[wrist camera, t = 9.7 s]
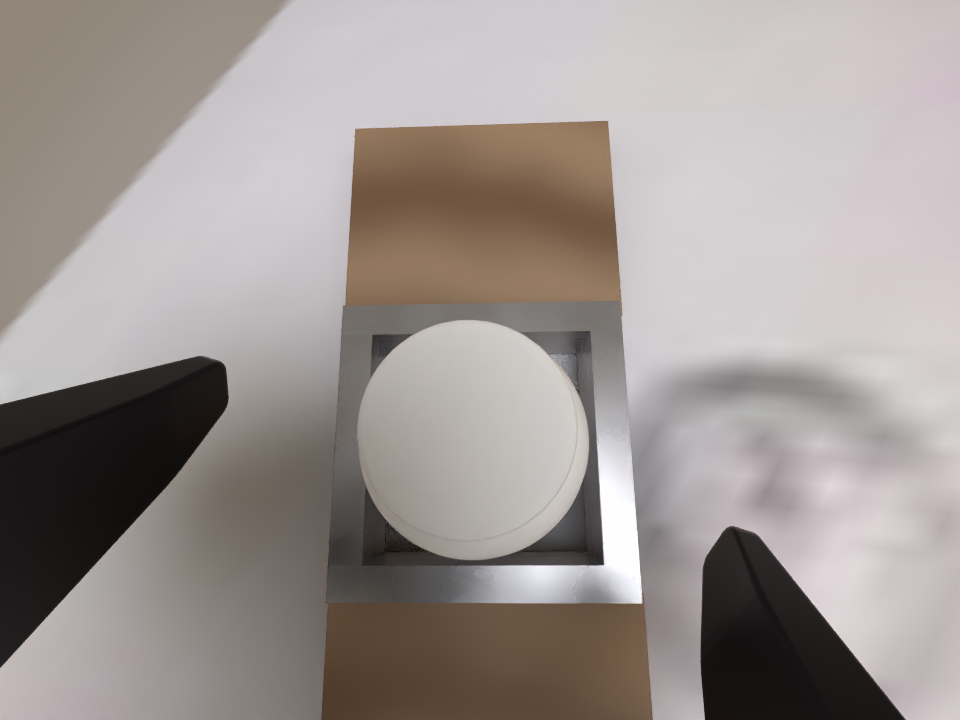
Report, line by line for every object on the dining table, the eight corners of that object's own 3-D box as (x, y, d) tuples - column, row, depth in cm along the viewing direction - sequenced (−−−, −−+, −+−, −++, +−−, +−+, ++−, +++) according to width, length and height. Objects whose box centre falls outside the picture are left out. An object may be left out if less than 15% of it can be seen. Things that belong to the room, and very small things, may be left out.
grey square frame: (618, 582, 17) (642, 603, 14) (354, 583, 18) (325, 602, 15) (601, 327, 19) (620, 300, 16) (366, 331, 20) (343, 306, 17)
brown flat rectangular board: (653, 871, 15) (666, 903, 14) (325, 865, 16) (311, 896, 15) (601, 140, 21) (607, 121, 20) (363, 148, 22) (355, 128, 20)
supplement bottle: (424, 369, 19) (353, 261, 10) (567, 393, 19) (635, 304, 9) (394, 516, 18) (280, 553, 9) (545, 545, 18) (599, 618, 8)
